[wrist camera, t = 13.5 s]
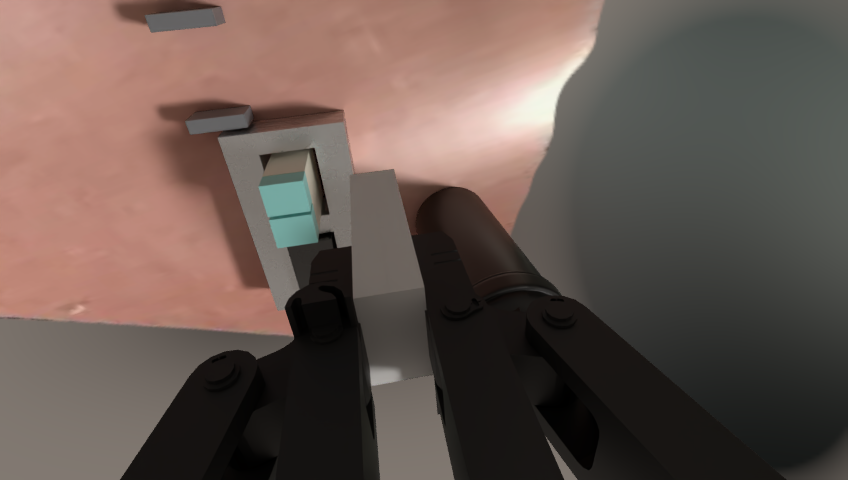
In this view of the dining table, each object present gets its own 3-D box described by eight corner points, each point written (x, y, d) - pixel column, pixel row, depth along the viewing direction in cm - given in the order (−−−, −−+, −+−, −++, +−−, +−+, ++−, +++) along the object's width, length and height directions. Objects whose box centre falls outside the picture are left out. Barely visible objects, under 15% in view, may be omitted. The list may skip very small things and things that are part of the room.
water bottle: (427, 269, 53) (483, 434, 33) (394, 203, 47) (438, 354, 28) (502, 236, 52) (604, 384, 33) (478, 165, 47) (582, 292, 28)
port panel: (228, 124, 41) (214, 141, 36) (343, 110, 42) (343, 125, 37) (282, 288, 51) (276, 316, 47) (373, 274, 52) (375, 300, 48)
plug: (275, 144, 42) (258, 186, 34) (310, 140, 43) (302, 180, 34) (289, 198, 45) (277, 248, 37) (322, 194, 46) (318, 242, 37)
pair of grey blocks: (158, 12, 35) (144, 15, 33) (220, 6, 36) (211, 8, 33) (199, 125, 40) (190, 134, 38) (253, 118, 41) (247, 127, 38)
